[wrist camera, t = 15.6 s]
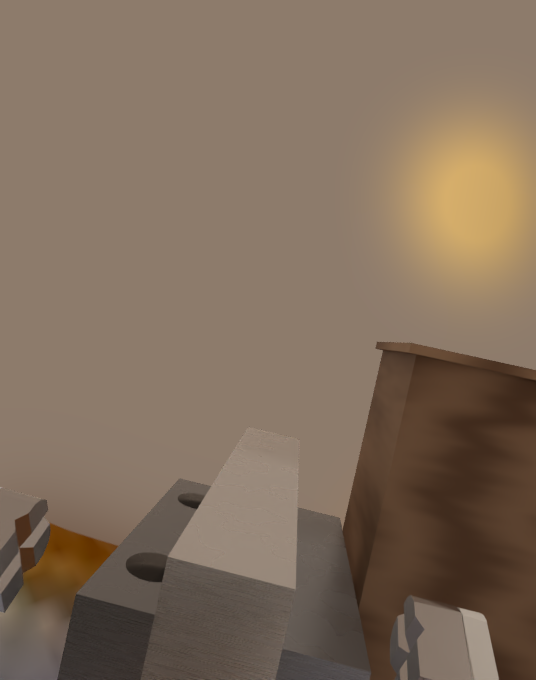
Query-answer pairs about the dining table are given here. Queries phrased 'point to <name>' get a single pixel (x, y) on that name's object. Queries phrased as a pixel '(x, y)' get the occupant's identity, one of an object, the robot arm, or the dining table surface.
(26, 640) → the dining table surface
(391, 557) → the tall wooden cabinet
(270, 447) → the grey rectangular block
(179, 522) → the riser block
